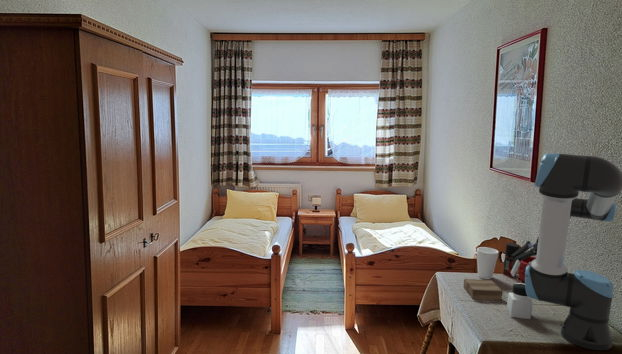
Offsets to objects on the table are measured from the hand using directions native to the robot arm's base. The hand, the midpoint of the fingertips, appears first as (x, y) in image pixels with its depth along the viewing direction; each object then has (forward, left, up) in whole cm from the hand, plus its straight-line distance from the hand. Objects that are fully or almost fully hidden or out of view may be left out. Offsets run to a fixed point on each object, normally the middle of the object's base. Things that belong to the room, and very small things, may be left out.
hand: (529, 279), depth 176 cm
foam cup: (+33, -9, -12) cm, 37 cm away
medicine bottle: (-3, +7, -12) cm, 14 cm away
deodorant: (+32, -23, -12) cm, 42 cm away
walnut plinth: (+17, +7, -12) cm, 22 cm away
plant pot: (+18, -22, -12) cm, 31 cm away
